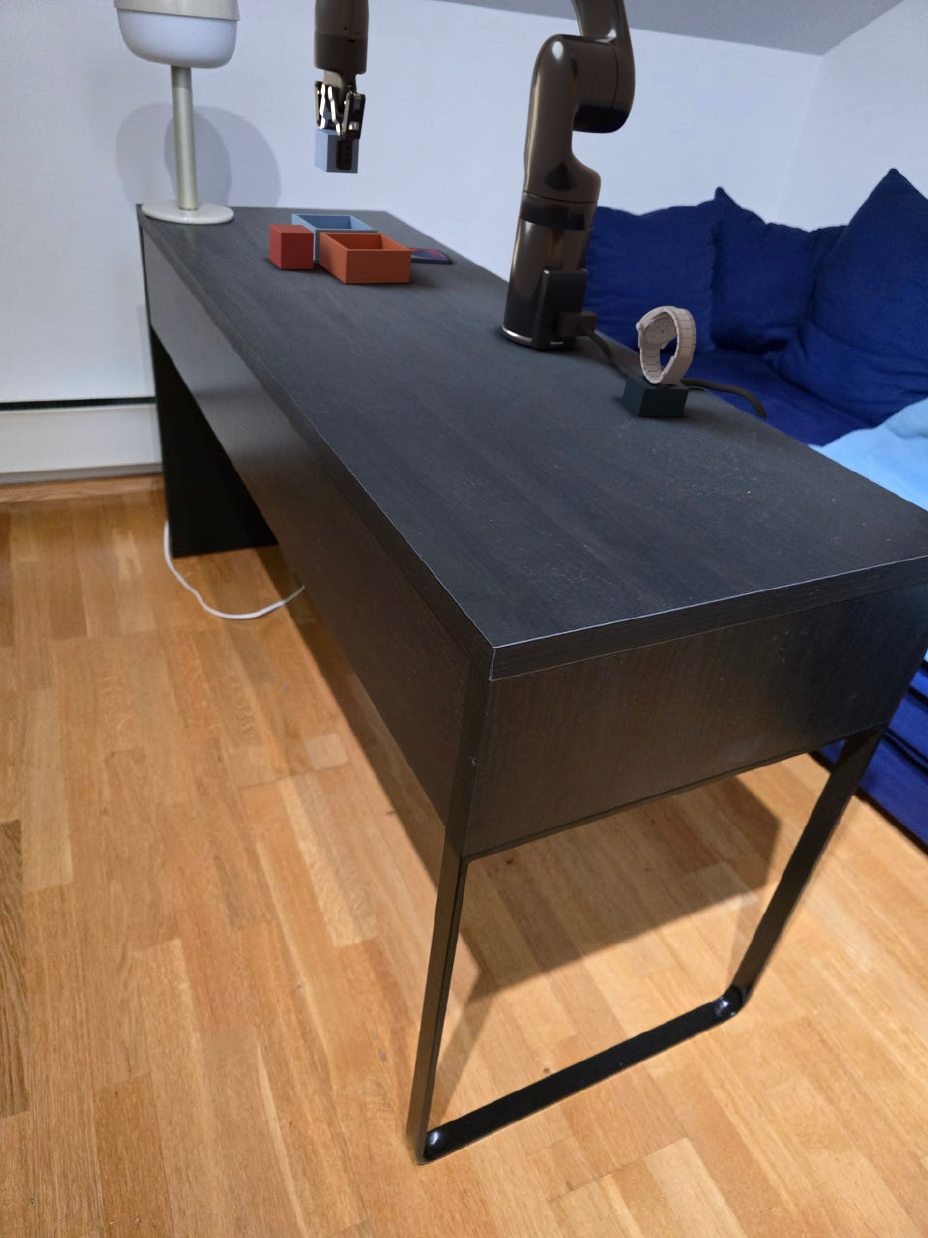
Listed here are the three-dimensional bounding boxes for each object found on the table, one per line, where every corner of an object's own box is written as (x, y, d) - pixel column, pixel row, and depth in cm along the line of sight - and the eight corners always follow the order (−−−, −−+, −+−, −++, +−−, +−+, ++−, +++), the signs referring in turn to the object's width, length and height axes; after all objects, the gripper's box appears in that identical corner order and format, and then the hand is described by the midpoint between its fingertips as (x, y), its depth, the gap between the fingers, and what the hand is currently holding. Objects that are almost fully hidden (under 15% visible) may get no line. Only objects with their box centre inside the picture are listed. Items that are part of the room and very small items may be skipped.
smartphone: (450, 267, 143) (451, 260, 143) (360, 261, 139) (360, 254, 138) (438, 256, 149) (439, 249, 149) (351, 249, 144) (351, 242, 144)
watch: (656, 394, 103) (681, 298, 97) (689, 422, 97) (718, 321, 91) (613, 394, 101) (636, 296, 95) (644, 422, 95) (670, 319, 89)
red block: (313, 268, 130) (314, 232, 127) (280, 269, 128) (281, 232, 125) (301, 259, 134) (301, 224, 131) (269, 259, 131) (269, 224, 128)
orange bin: (409, 282, 131) (411, 250, 128) (345, 283, 126) (346, 250, 123) (380, 263, 138) (382, 233, 135) (319, 263, 133) (319, 232, 130)
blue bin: (375, 260, 139) (377, 230, 136) (314, 260, 134) (315, 229, 132) (350, 244, 146) (351, 214, 143) (291, 243, 141) (291, 213, 138)
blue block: (357, 173, 133) (359, 136, 130) (326, 172, 130) (327, 134, 127) (344, 166, 136) (346, 130, 133) (314, 165, 134) (315, 128, 131)
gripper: (297, 23, 126) (296, 155, 136) (335, 33, 117) (331, 174, 126) (346, 29, 130) (341, 157, 139) (387, 39, 120) (378, 176, 130)
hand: (336, 165), depth 133 cm, fingers closed on blue block, 5 cm apart
